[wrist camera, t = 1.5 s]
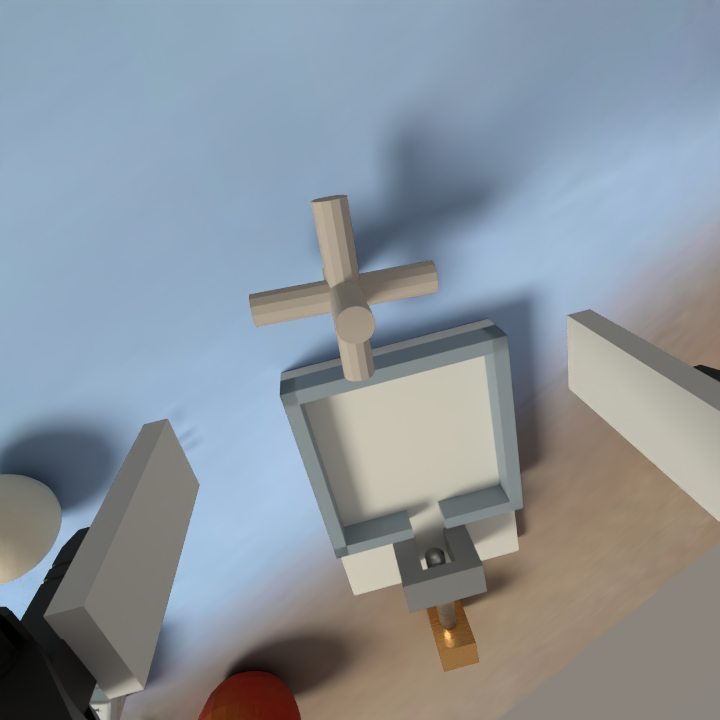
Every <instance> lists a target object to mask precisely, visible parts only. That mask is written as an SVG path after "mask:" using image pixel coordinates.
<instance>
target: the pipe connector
mask: <svg viewBox="0 0 720 720" xmlns="http://www.w3.org/2000/svg"><path fill="white" fill-rule="evenodd" d="M311 205H312V210H313V215H314V220H315V226H316V231H317V236H318V241H319V246H320V252H321V257H322V262H323V276H324V281H318V282H313V283H308V284H303V285H297V286H292V287H287V288H281V289H276V290H271V291H265V292H260V293H255V294H250V295H249V301H250V308H251V312H252V317H253V320H254V323H255V325H256V327H259V326H264V325H269V324H274V323H280V322H285V321H290V320H295V319H300V318H306V317H311V316H316V315H321V314H326V313H332V316H333V320H334V325H335V330H336V335H337V340H338V346H339V351H340V356H341V361H342V366H343V372H344V377H345V378H346V379H347V380H350V381H363V380H366V379H369V378H370V377H372V376H373V375H374V372H375V370H374V363H373V357H372V351H371V344H370V337H371V336H372V334H373V332H374V330H375V319H374V316H373V314H372V312H371V310H370V308H369V305H373V304H379V303H384V302H389V301H394V300H399V299H405V298H410V297H415V296H420V295H426V294H431V293H436V292H437V290H438V277H437V271H436V268H435V264H434V263H433V261H432V260H430V261H425V262H419V263H414V264H409V265H404V266H398V267H393V268H388V269H382V270H377V271H372V272H366V273H361V274H359V269H358V263H357V256H356V250H355V244H354V237H353V231H352V225H351V218H350V212H349V206H348V200H347V195H335V196H328V197H323V198H319V199H315V200H313V201H311Z"/></svg>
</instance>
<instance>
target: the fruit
mask: <svg viewBox="0 0 720 720" xmlns="http://www.w3.org/2000/svg"><path fill="white" fill-rule="evenodd" d="M198 720H301V717H300V712H299V709H298V706H297V703H296V701H295V699H294V696H293V694H292V692H291V691H290V689H289V688H288V687H287V686H286V685H285V683H284V682H283V681H282V680H281V679H280V678H279V677H277V676H275V675H273V674H271V673H267V672H262V671H247V672H243V673H238V674H235V675H233V676H231V677H228V678H227V679H226V680H224V681H223V682H222V683H221V684H220V685H219V686H218V687H217V688H216V689H215V690H214V691H213V692H212V693H211V695H210V697H209V698H208V700H207V702H206V704H205V706H204V708H203V710H202V712H201V714H200V716H199V719H198Z"/></svg>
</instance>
